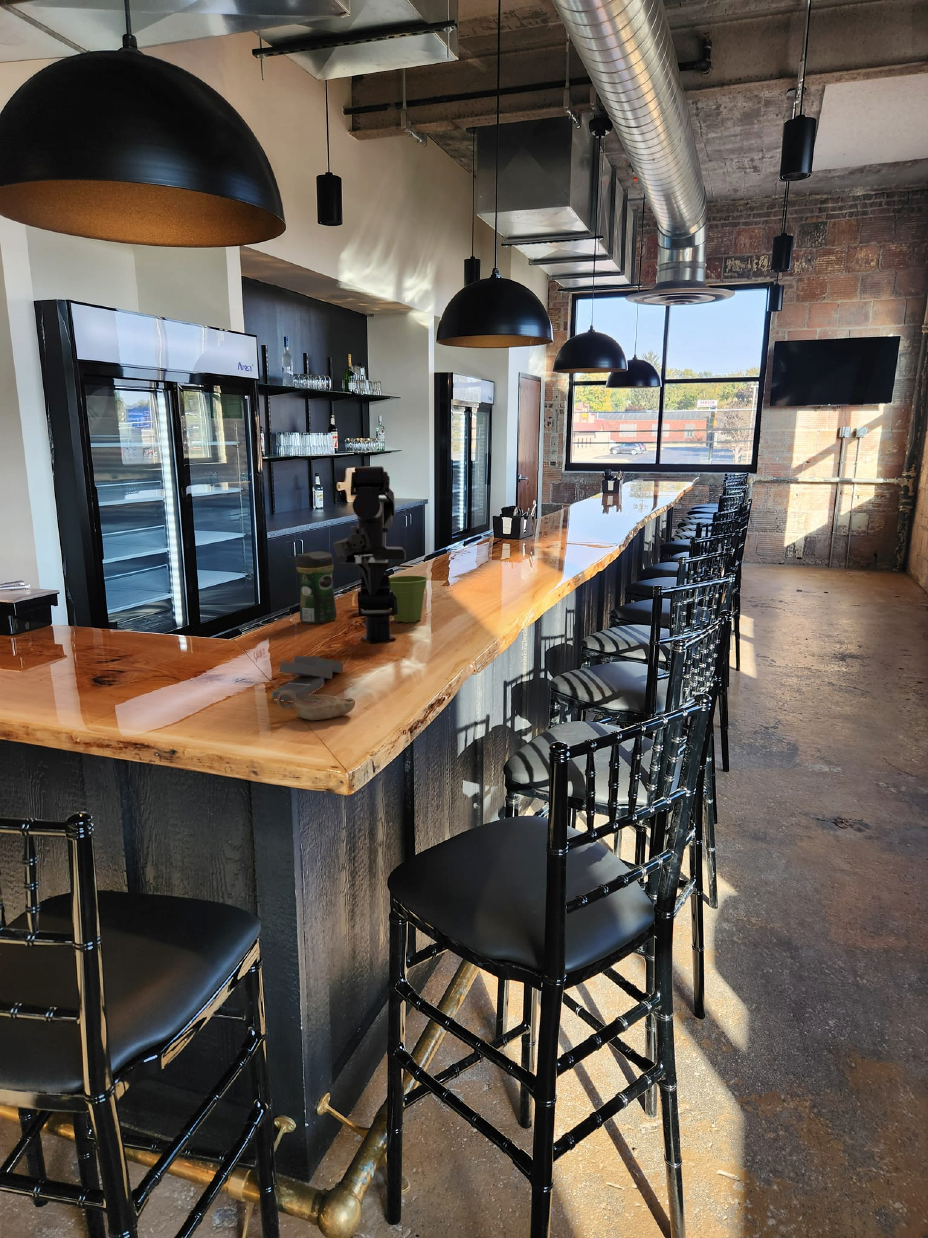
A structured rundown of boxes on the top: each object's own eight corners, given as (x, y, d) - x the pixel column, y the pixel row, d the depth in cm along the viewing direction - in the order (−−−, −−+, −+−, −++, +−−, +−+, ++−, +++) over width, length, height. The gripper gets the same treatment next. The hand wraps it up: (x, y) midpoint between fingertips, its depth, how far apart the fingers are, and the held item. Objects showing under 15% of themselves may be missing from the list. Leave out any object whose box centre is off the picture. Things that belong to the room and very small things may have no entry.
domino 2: (300, 675, 153) (272, 691, 143) (323, 676, 152) (297, 693, 141) (300, 684, 153) (273, 701, 143) (324, 686, 152) (298, 703, 142)
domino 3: (321, 662, 162) (294, 655, 152) (343, 663, 161) (317, 656, 150) (320, 671, 162) (293, 665, 152) (342, 672, 161) (316, 666, 150)
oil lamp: (358, 710, 138) (357, 682, 137) (352, 724, 130) (351, 695, 129) (283, 711, 138) (281, 683, 137) (273, 725, 130) (271, 696, 129)
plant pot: (410, 613, 218) (409, 573, 215) (438, 620, 209) (437, 578, 207) (375, 620, 210) (374, 578, 208) (403, 627, 201) (402, 583, 199)
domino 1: (310, 668, 158) (280, 662, 147) (332, 669, 156) (303, 663, 146) (309, 677, 157) (279, 672, 147) (331, 679, 156) (302, 673, 146)
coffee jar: (320, 616, 216) (317, 549, 213) (341, 619, 212) (338, 550, 208) (294, 622, 209) (290, 553, 205) (315, 626, 204) (311, 554, 200)
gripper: (317, 525, 175) (319, 595, 176) (361, 518, 160) (362, 595, 161) (360, 527, 182) (362, 595, 183) (406, 520, 167) (407, 594, 168)
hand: (372, 594), depth 173 cm, fingers closed
